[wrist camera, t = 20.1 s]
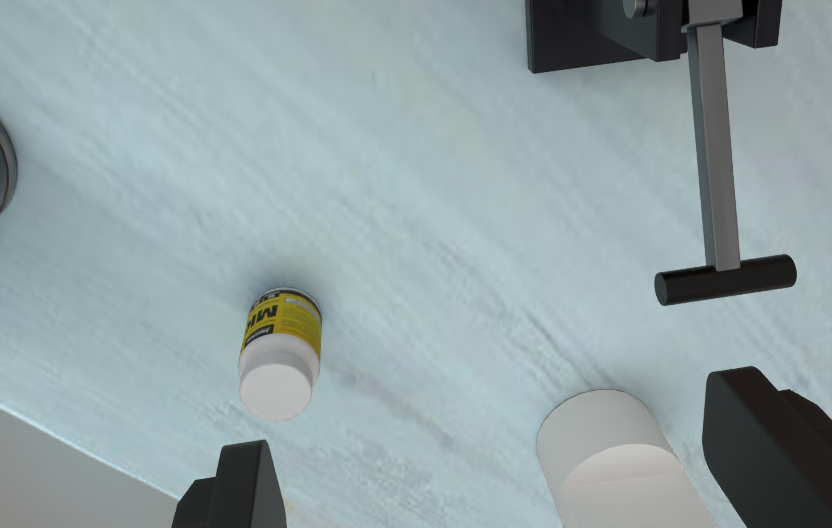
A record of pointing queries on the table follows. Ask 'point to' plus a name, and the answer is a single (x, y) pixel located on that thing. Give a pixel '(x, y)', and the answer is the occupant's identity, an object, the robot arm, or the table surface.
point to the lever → (716, 174)
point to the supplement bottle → (280, 354)
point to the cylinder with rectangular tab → (615, 467)
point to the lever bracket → (628, 31)
